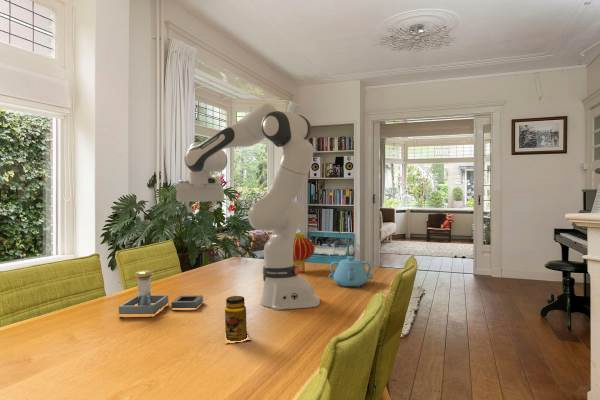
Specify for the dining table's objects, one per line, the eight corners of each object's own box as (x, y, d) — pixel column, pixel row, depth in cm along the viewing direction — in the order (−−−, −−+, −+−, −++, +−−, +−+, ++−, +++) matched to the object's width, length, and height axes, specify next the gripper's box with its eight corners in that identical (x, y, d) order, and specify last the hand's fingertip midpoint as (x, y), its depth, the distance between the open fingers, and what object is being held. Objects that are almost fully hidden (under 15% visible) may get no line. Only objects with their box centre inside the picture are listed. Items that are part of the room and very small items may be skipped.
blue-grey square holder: (203, 303, 149) (202, 295, 148) (196, 310, 140) (196, 302, 139) (179, 303, 149) (179, 295, 149) (171, 310, 140) (171, 302, 140)
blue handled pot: (371, 280, 181) (371, 253, 180) (375, 291, 161) (375, 261, 161) (329, 280, 183) (328, 253, 182) (328, 291, 163) (327, 261, 162)
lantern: (278, 270, 208) (277, 214, 207) (309, 267, 213) (308, 213, 212) (287, 276, 192) (285, 216, 191) (319, 274, 197) (318, 215, 196)
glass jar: (156, 306, 142) (155, 270, 142) (149, 311, 136) (148, 273, 136) (140, 306, 142) (139, 270, 142) (132, 311, 136) (132, 274, 136)
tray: (168, 305, 146) (168, 295, 146) (153, 317, 132) (153, 306, 132) (137, 305, 147) (136, 295, 146) (119, 317, 133) (118, 306, 132)
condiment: (225, 345, 108) (224, 302, 107) (222, 334, 116) (221, 294, 115) (251, 341, 110) (250, 299, 109) (246, 331, 118) (245, 292, 117)
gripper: (173, 180, 164) (174, 213, 164) (221, 179, 164) (222, 212, 164) (178, 180, 170) (179, 212, 171) (224, 180, 170) (225, 211, 170)
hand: (200, 212), depth 167 cm, fingers open, 8 cm apart
